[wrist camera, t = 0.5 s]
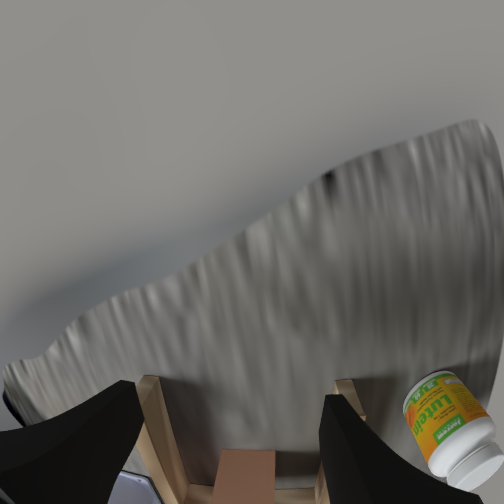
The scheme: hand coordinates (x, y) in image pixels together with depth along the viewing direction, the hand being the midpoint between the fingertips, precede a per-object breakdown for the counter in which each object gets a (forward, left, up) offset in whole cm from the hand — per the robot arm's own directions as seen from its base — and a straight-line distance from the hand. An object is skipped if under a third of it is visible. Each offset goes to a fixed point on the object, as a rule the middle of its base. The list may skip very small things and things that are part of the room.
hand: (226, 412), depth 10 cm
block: (0, -15, -9) cm, 17 cm away
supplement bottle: (+15, -8, -9) cm, 19 cm away
